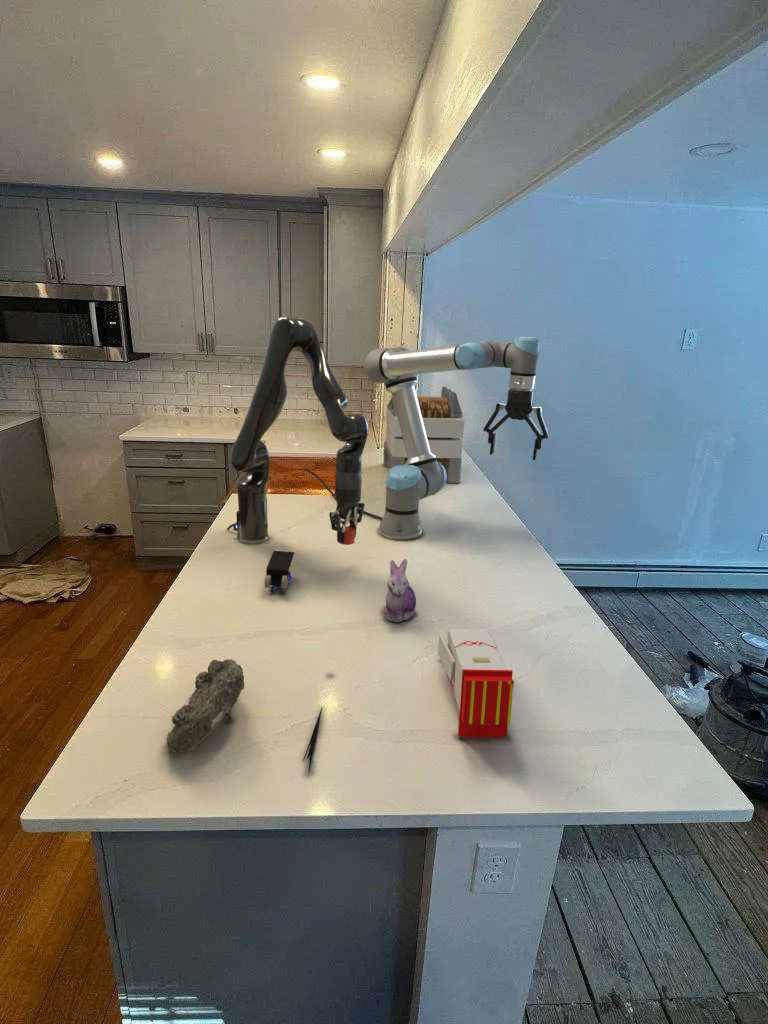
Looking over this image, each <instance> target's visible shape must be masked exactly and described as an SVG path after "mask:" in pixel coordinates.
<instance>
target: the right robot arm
mask: <svg viewBox="0 0 768 1024" xmlns="http://www.w3.org/2000/svg"><path fill="white" fill-rule="evenodd" d="M539 349H540V340H539V338H538V337H533V336H530V337H529V336H515V338H514V339H513V342H505V341H504V342H503V341H495V340H481V341H479V342H477V341H476V342H475V341H469V342H465V343H460V344H450V345H442V346H435V347H434V346H433V347H426V348H418V349H410V348H407V347H401V346H397V347H385V348H384V347H381V348H376V349H373V350H371V351H370V352H369V353H367V355H366V357H365V359H364V363H363V368H364V372H365V374H366V376H367V377H368V378H369V380H371V381H372V382H374V383H377V384H384V387H385V391H387V392H388V393H390V394H391V398H393V402H394V406H395V410H396V414H397V418H398V422H399V426H400V430H401V434H402V438H403V442H404V445H405V449H406V453H407V457H408V459H407V461H406V463H405V465H402V466H401V465H398V466H395V467H393V468H391V469H390V468H389V470H388V471H387V474H386V479H385V504H384V505H385V507H384V508H385V509H384V513H383V515H382V516H380V515H377V514H374V513H371V512H369V511H365V510H364V511H363V515H367V516H369V517H372V518H375V519H378V520H381V522H379V526H378V533H379V534H380V535H381V536H382V537H385V538H387V539H389V540H395V541H410V540H415V539H418V538H420V537H421V536H422V535H423V525H422V524H421V518H420V515H419V507H420V506H419V505H420V500H423V499H425V498H428V497H430V496H434V495H436V494H438V493H439V492H441V491H442V490H443V489H444V488H445V486H446V483H447V481H446V480H447V474H446V470H445V468H444V467H443V466H442V465H441V464H440V463H439V462H437V458H436V456H435V455H434V454H432V453H431V452H430V448H429V444H428V440H427V436H426V432H425V428H424V424H423V419H422V415H421V411H420V407H419V403H418V399H417V391H416V386H417V384H418V377H417V376H418V375H421V374H431V373H433V374H434V373H441V372H443V373H444V372H453V371H466V370H468V371H469V370H470V371H471V370H477V369H484V368H504V369H505V368H506V369H510V374H509V383H508V388H509V389H508V391H507V397H506V398H507V399H506V403H505V404H504V403H502V402H497V404H496V405H495V409H494V411H493V413H492V415H491V416H490V417H489V419H488V421H487V423H486V424H485V425H484V427H483V428H482V430H483V432H486V433H487V435H488V437H487V444H490V448H489V455H491V456H492V455H493V454H494V453H495V445H496V436H497V435H496V433H497V432H495V431H496V430H498V428H499V427H501V426H502V425H503V424H504V423H505V422H506V421H507V420H508V419H509V418H510V419H511V420H518V421H523V420H524V421H525V422H526V423H527V425H528V426H529V428H531V431H532V432H533V433H534V435H535V436H536V437H535V439H534V447H533V454H532V461H536V459H537V456H538V455H537V454H538V450H541V449H542V444H543V440H544V439H548V438H549V437H550V433H549V430H548V427H547V425H546V422H545V419H544V417H543V413H542V411H543V409H542V408H543V407H542V406H533V398H534V397H533V396H534V391H533V390H534V388H535V382H536V372H537V365H538V358H539V354H540V351H539ZM503 409H504V410H505V412H506V414H505V415H504V416H503V417H502V418H501V419H500V420H499V421H498V422H497V423H496V424H494V426H493V427H491V426H492V424H493V423H494V421H495V420H496V418H497V416H498V415H499V413H500V412H501V411H503ZM532 412H533V413H534V415H536V418H537V421H538V424H539V426H540V428H541V431H540V429H539V428H538V426H537V425H536V424H535V422H534V421H533V418H532V417H531V415H530V414H531V413H532ZM303 470H304V471H305V472H307V473H309V474H311V475H312V476H314V477H315V478H316V479H317V480H319V482H320V483H321V484H322V485H323V486H324V487H325V489H326V490H327V491H328V492H329V493H330V495H332V496H333V497H334V498H335V492H333V491H332V490H331V488H329V486H328V485H327V484H326V482H325V481H324V480H323V479H322V478H321V477H320V476H319V475H318V474H316V473H315V472H314V471H312V470H310V469H308V468H305V467H304V468H303Z"/></svg>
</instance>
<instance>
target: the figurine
mask: <svg viewBox="0 0 768 1024" xmlns="http://www.w3.org/2000/svg"><path fill="white" fill-rule="evenodd" d="M407 567H408V559H406V558H404V559H403V560H402V561H401V563H400V565H399V566H398V565H397V563H396V562H395V561H394V560H393V559H391V560H390V561H389V570H390V576H389V578H388V579H387V589H388V591H387V592H386V594H385V595H386V596H385V607H384V615H385V616H386V620H387V621H391V622H395V623H400V622H402V621H406V620H409V619H410V618H411V617H413V616H414V615H415V610H416V606H417V597H416V593H415V591H414V590H413V587H411V586H410V582H409V579H408V577H407V574H406V571H407Z"/></svg>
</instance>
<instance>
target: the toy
mask: <svg viewBox="0 0 768 1024" xmlns="http://www.w3.org/2000/svg"><path fill="white" fill-rule="evenodd" d="M446 640H447V643H446V641H445V639H444V636H443V635H442V634H439V637H438V646H437V656H438V657H439V659H440V661H441V663H442V666H443V668H444V670H445V672H446V674H447V677H448V679H449V681H450V684H451V687H452V690H453V693H454V697H455V701H456V705H457V708H458V711H459V714H458V715H459V716H458V730H457V731H458V732H457V737H458V738H508V731H509V726H510V725H511V717H512V707H513V697H514V696H513V695H514V684H515V680H514V679H513V673H514V671H513V670H512V669H508V667H507V665H506V662H505V661H504V659H503V658H502V655H501V653H500V651H499V649H498V647H497V643H496V639H495V637H494V635H493V634H491V632H490V631H489V629H467V628H466V629H465V628H463V629H461V628H460V629H459V628H448V630H447V639H446Z"/></svg>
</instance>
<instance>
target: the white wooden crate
mask: <svg viewBox="0 0 768 1024" xmlns="http://www.w3.org/2000/svg"><path fill="white" fill-rule="evenodd" d="M440 393H441V394H440V396H417V399H418V403H419V407H420V411H421V415H422V419H423V424H424V428H425V432H426V436H427V440H428V444H429V448H430V452H431V453H432V454H434V455H435V456H436V458H437V462H439V463H440V464H441V465H442V466H443V467H444V468H445V470H446V474H447V480H446V483H449V484H455V483H456V484H459V483H461V472H462V461H463V460H462V453H463V442H464V441H463V440H462V439H463V438H464V431H465V430H464V429H465V419H464V418H463V411H462V408H461V405H460V402H459V398H458V395H457V392H455V391H453V390H452V389H451V388H447V386H442V387H441V392H440ZM385 414H386V415H385V423H386V428H385V438H384V442H383V466H384V467H388V468H389V470H390V469H391V468H393V467H395V466H398V465H401V466H402V465H405V463H406V461H407V459H408V457H407V453H406V449H405V445H404V442H403V438H402V434H401V430H400V426H399V422H398V418H397V414H396V410H395V406H394V402H393V398H392V397H391V398H390V400H389V402H388V404H387V405H386V413H385Z"/></svg>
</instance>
